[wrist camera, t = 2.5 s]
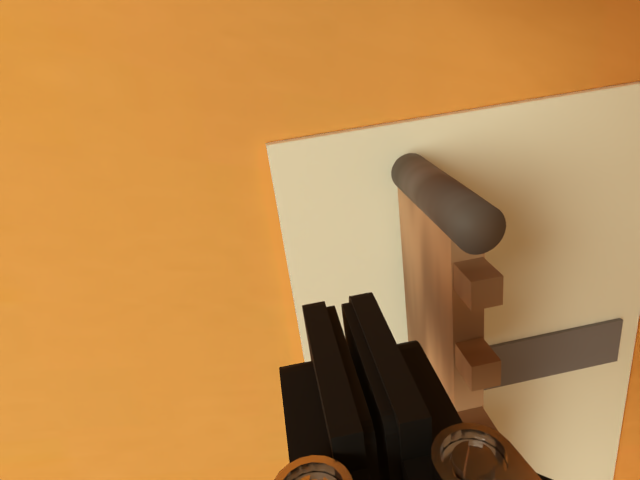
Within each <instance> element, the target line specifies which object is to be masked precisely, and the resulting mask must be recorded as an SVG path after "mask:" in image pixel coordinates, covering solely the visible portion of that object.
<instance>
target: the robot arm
mask: <svg viewBox="0 0 640 480" xmlns="http://www.w3.org/2000/svg"><path fill="white" fill-rule="evenodd" d="M341 308H342V316H343V324H344V332H345V336H344V332H343V329H342V326H341V323H340V320H339V317H338V314H337V311H336V308H335V306H328V307H326V304H325V301H322V302H316V303H311V304H306V305H302V310H303V316H304V322H305V327H306V333H307V339H308V345H309V351H310V357H311V361H309V362H304V363H299V364H294V365H289V366H284V367H280V368H279V370H280V380H281V389H282V398H283V407H284V416H285V425H286V434H287V442H288V451H289V460H290V463H289V464H288V465H287V466H285V467H284V468H283V469H282V470H281V471H280V472H279V473H278V475H277V476H276V478H275V479H274V480H553V479H550V478H548V477H545V476H543V475H541V474H538V473H536V472H535V471H534V470H533V468H532V467H531V466H530V465H529V464H528V463H527V461H526V460H525V459H524V458H523V457H522V455H521V454H520V453H519V452H518V451H517V450H516V448H515V447H514V446H513V445H512V444H511V442H510V441H509V440H507V439H506V438H505V437H504V436H503V435H502V434H501V433H499V432H498V431H496V430H494V429H492V428H490V427H488V426H484V425H480V424H477V423H463V422H462V420H461V418H460V416H459V414H458V413H457V411H456V409H455V407H454V405H453V403H452V402H451V400H450V398H449V396H448V394H447V392H446V390H445V389H444V387H443V385H442V383H441V381H440V379H439V378H438V376H437V374H436V372H435V370H434V368H433V367H432V365H431V363H430V361H429V359H428V357H427V356H426V354H425V352H424V350H423V348H422V346H421V345H420V343H419V342H418V341H417V340H414V341H409V342H404V343H399V344H397V343H396V341H395V339H394V337H393V335H392V333H391V330H390V328H389V326H388V324H387V322H386V320H385V318H384V316H383V314H382V312H381V309H380V307H379V305H378V303H377V301H376V299H375V297H374V295H373V293H372V292H369V293H364V294H358V295H353V296H349V303H344V304H341Z"/></svg>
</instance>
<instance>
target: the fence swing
mask: <svg viewBox="0 0 640 480" xmlns="http://www.w3.org/2000/svg"><path fill="white" fill-rule="evenodd" d="M391 177H392V180H393V182H394V184H395V185H396V186H397V188H398V202H399V217H400V231H401V246H402V260H403V274H404V289H405V303H406V318H407V332H408V342H409V341H414V340H417V341H418V342H419V343H420V345H421V346H422V348H423V350H424V352H425V354H426V356H427V357H428V359H429V361H430V363H431V365H432V367H433V368H434V370H435V372H436V374H437V376H438V378H439V379H440V381H441V383H442V385H443V387H444V389H445V390H446V392H447V394H448V396H449V398H450V400H451V402H452V403H453V405H454V407H455V409H456V411H457V413H458V414H459V416H460V418H461V420H462V422H463V423H477V424H480V425H484V426H488V427H490V428H492V429H494V430H496V431H498V430H497V428H496V427H495V425H494V424H493V422H492V421H491V419H490V418H489V416H488V415H487V413H486V412H485V410H484V408H483V406H484V389H486V388H491V387H495V386H500V385H501V360H500V358H499V357H498V356H497V355H496V353H495V352H494V351H493V350H492V348H491V347H490V346H489V345H488V343H487V342H486V341H485V340H484V309H485V308H489V307H494V306H499V305H503V278H504V276H503V275H502V274H501V273H500V272H499V271H498V270H497V269H496V268H494V267H493V266H492V265H491V264H490V263H489V262H488V261H487V260H486V259H485V253H486V252H488V251H490V250H492V249H493V248H495V247H496V246H497V245H498V244H499V243H500V241H501V240H502V238H503V236H504V234H505V230H506V220H505V217H504V215H503V213H502V212H501V211H500V210H499V209H498V208H496V207H495V206H493V205H492V204H490V203H489V202H488V201H486V200H485V199H483V198H482V197H480V196H479V195H477V194H476V193H474V192H473V191H472V190H470V189H469V188H467V187H466V186H464V185H463V184H461V183H460V182H458V181H457V180H456V179H454V178H453V177H451V176H450V175H448V174H447V173H445V172H444V171H442V170H441V169H439V168H438V167H437V166H435V165H434V164H432V163H431V162H429V161H428V160H426V159H425V158H423V157H422V156H421V155H419V154H416V153H408V154H404V155H402V156H401V157H399V158H398V159H397V160H396V161H395V163H394V165H393V167H392V171H391ZM498 432H499V431H498Z"/></svg>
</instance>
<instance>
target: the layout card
mask: <svg viewBox="0 0 640 480" xmlns="http://www.w3.org/2000/svg"><path fill="white" fill-rule="evenodd" d="M266 147H267V153H268V159H269V164H270V170H271V175H272V181H273V187H274V192H275V198H276V204H277V209H278V215H279V220H280V226H281V232H282V237H283V243H284V249H285V254H286V260H287V265H288V271H289V277H290V282H291V288H292V293H293V299H294V305H295V310H296V316H297V322H298V327H299V333H300V338H301V344H302V350H303V355H304V361H305V362H309V361H311V357H310V351H309V345H308V339H307V333H306V327H305V322H304V316H303V310H302V305H306V304H311V303H316V302H322V301H325V304H326V307H328V306H335V308H336V311H337V314H338V317H339V320H340V323H341V326H342V329H343V332H344V324H343V316H342V308H341V304H344V303H349V296H353V295H358V294H364V293H369V292H372V293H373V295H374V297H375V299H376V301H377V303H378V305H379V307H380V309H381V312H382V314H383V316H384V318H385V320H386V322H387V324H388V326H389V328H390V330H391V333H392V335H393V337H394V339H395V341H396V343H397V344H399V343H404V342H408V332H407V318H406V303H405V289H404V274H403V260H402V246H401V231H400V217H399V202H398V188H397V186H396V185H395V184H394V182H393V180H392V177H391V171H392V167H393V165H394V163H395V161H396V160H397V159H398V158H399V157H401V156H402V155H404V154H408V153H416V154H419V155H421V156H422V157H423V158H425V159H426V160H428V161H429V162H431V163H432V164H434V165H435V166H437V167H438V168H439V169H441V170H442V171H444V172H445V173H447V174H448V175H450V176H451V177H453V178H454V179H456V180H457V181H458V182H460V183H461V184H463V185H464V186H466V187H467V188H469V189H470V190H472V191H473V192H474V193H476V194H477V195H479V196H480V197H482V198H483V199H485V200H486V201H488V202H489V203H490V204H492V205H493V206H495V207H496V208H498V209H499V210H500V211H501V212H502V213H503V215H504V217H505V220H506V230H505V234H504V236H503V238H502V240H501V241H500V243H499V244H498V245H497V246H496V247H495V248H493V249H492V250H490V251H488V252H486V253H485V259H486V260H487V261H488V262H489V263H490V264H491V265H492V266H493V267H494V268H496V269H497V270H498V271H499V272H500V273H501V274H502V275H503V276H504V278H503V305H499V306H494V307H489V308H485V309H484V340H485V341H486V342H487V343H488V345H489V346H490V347H491V348H492V350H493V351H494V352H495V353H496V355H497V356H498V357H499V358H500V360H501V385H500V386H495V387H491V388H486V389H484V406H483V408H484V410H485V412H486V413H487V415H488V416H489V418H490V419H491V421H492V422H493V424H494V425H495V427H496V428H497V430H498V431H499V433H501V434H502V435H503V436H504V437H505V438H506V439H507V440H509V441H510V442H511V444H512V445H513V446H514V447H515V448H516V450H517V451H518V452H519V453H520V454H521V455H522V457H523V458H524V459H525V460H526V461H527V463H528V464H529V465H530V466H531V467H532V468H533V470H534V471H535V472H536V473H538V474H541V475H543V476H545V477H548V478H550V479H553V480H613V477H614V471H615V464H616V458H617V452H618V446H619V439H620V433H621V427H622V421H623V415H624V408H625V402H626V396H627V390H628V383H629V377H630V371H631V365H632V358H633V352H634V346H635V340H636V334H637V327H638V321H639V315H640V81H638V82H632V83H626V84H620V85H614V86H608V87H602V88H595V89H589V90H583V91H577V92H571V93H565V94H559V95H553V96H547V97H541V98H535V99H529V100H523V101H517V102H511V103H505V104H499V105H493V106H487V107H481V108H475V109H469V110H463V111H457V112H451V113H445V114H438V115H432V116H426V117H420V118H414V119H408V120H402V121H396V122H390V123H384V124H378V125H372V126H366V127H360V128H354V129H348V130H342V131H336V132H330V133H324V134H318V135H312V136H306V137H300V138H294V139H288V140H282V141H275V142H269V143H266ZM344 336H345V332H344Z"/></svg>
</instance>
